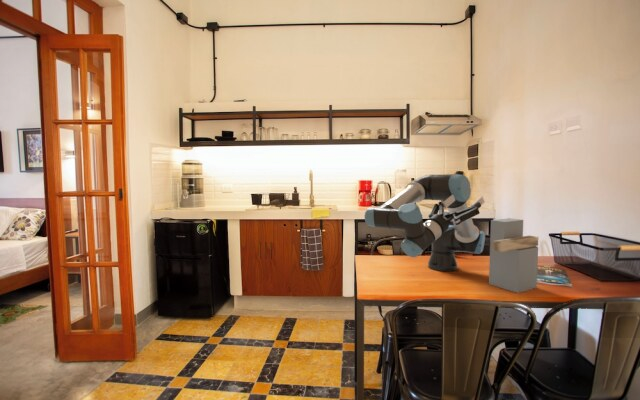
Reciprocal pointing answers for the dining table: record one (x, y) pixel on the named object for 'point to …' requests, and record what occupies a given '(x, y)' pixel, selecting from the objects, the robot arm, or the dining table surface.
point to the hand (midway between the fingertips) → (467, 198)
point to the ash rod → (515, 243)
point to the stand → (512, 259)
